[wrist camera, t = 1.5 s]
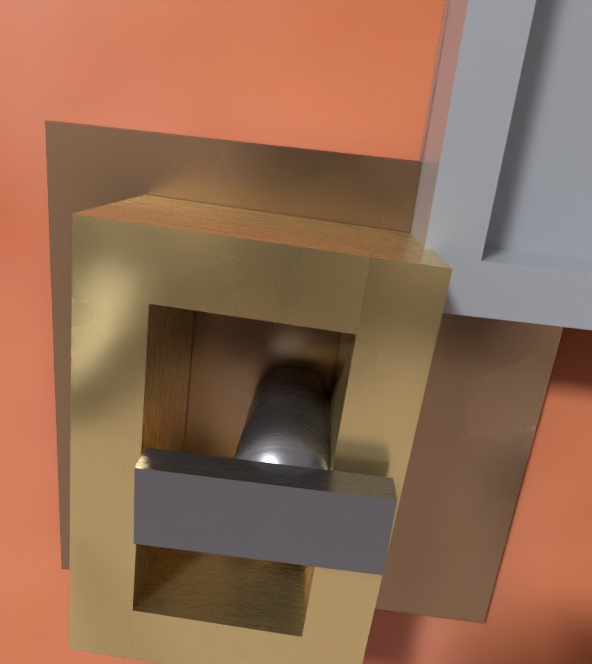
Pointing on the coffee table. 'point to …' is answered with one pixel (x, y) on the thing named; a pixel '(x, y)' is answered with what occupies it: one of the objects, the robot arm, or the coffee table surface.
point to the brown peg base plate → (307, 389)
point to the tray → (511, 160)
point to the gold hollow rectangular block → (171, 407)
